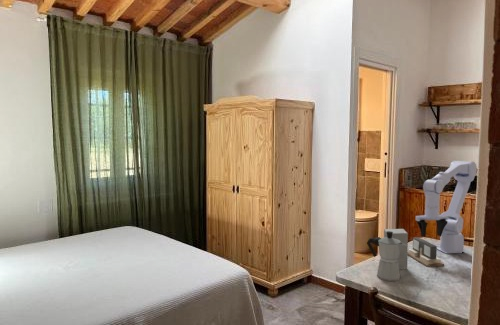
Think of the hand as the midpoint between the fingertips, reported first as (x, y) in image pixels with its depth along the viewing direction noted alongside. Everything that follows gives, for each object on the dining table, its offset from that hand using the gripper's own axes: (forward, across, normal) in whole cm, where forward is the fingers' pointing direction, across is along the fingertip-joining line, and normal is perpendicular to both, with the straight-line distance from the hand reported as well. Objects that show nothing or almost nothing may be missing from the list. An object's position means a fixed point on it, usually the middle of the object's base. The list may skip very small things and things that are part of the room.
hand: (431, 236), depth 169 cm
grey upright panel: (+7, -6, -4) cm, 9 cm away
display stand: (+9, -6, -4) cm, 11 cm away
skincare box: (+10, -23, -11) cm, 27 cm away
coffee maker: (+10, -32, -20) cm, 38 cm away
